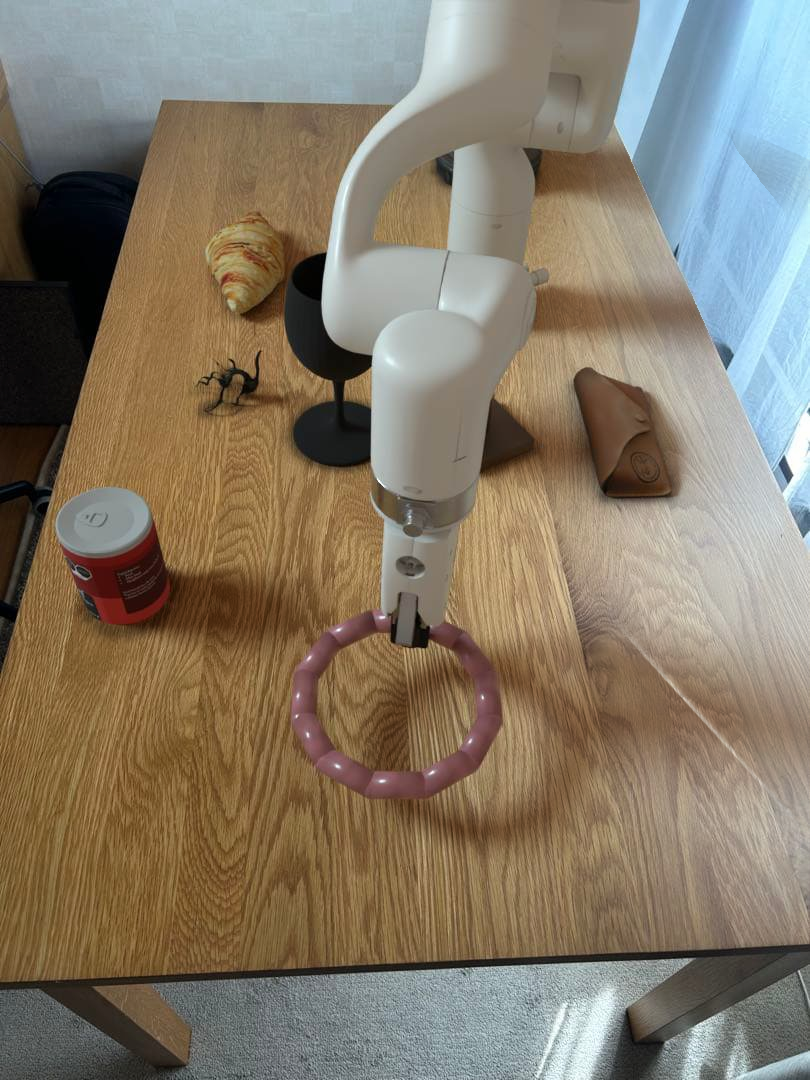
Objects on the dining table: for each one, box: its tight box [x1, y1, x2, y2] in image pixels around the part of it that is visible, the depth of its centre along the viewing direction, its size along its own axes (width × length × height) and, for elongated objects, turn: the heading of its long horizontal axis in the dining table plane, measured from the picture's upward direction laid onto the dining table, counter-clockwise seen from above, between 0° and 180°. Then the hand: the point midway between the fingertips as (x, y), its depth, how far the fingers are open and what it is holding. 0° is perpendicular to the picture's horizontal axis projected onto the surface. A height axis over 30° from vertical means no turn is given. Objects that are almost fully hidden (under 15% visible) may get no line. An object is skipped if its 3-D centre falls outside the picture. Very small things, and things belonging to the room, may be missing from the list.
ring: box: [290, 608, 504, 800], centre depth 72 cm, size 17×17×2 cm
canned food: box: [54, 486, 171, 626], centre depth 80 cm, size 8×8×11 cm
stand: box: [480, 391, 536, 472], centre depth 97 cm, size 9×9×10 cm
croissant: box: [204, 211, 285, 315], centre depth 117 cm, size 21×10×8 cm, turn 1°
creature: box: [195, 349, 263, 413], centre depth 101 cm, size 8×5×8 cm
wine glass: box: [283, 251, 373, 467], centre depth 92 cm, size 10×10×20 cm
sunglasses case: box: [572, 366, 673, 499], centre depth 100 cm, size 18×7×7 cm, turn 3°
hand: (412, 627), depth 77 cm, fingers closed on ring, 2 cm apart
